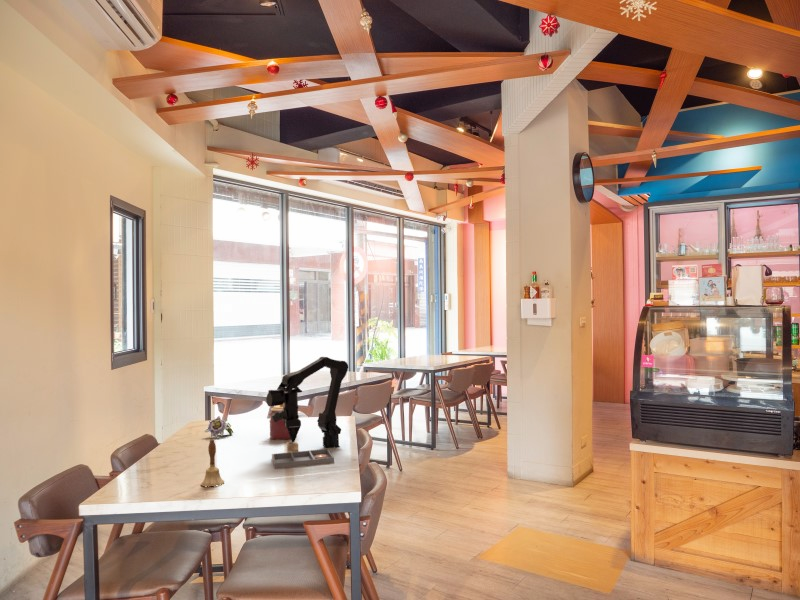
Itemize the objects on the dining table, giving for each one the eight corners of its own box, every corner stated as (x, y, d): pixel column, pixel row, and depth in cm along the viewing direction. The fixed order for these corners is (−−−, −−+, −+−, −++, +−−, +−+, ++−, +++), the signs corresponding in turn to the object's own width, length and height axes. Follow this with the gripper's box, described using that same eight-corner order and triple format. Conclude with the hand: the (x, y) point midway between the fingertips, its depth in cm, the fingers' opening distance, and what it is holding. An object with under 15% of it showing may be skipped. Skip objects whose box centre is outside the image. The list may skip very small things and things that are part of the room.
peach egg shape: (326, 456, 243) (326, 453, 243) (327, 459, 238) (327, 456, 238) (314, 457, 242) (314, 454, 242) (315, 460, 237) (315, 457, 237)
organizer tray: (327, 454, 249) (327, 448, 249) (334, 463, 234) (333, 457, 234) (272, 460, 243) (271, 454, 243) (274, 469, 227) (274, 463, 227)
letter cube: (297, 451, 254) (297, 441, 254) (298, 454, 250) (298, 443, 250) (286, 452, 253) (286, 442, 253) (287, 455, 249) (287, 444, 249)
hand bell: (229, 481, 214) (228, 437, 214) (215, 488, 206) (213, 443, 206) (210, 480, 216) (209, 437, 217) (195, 486, 208) (194, 442, 209)
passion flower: (216, 448, 292) (201, 430, 289) (219, 440, 302) (204, 422, 299) (235, 435, 292) (220, 417, 289) (237, 427, 303) (222, 409, 300)
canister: (300, 434, 293) (299, 399, 293) (291, 440, 280) (290, 403, 281) (275, 434, 295) (274, 399, 296) (265, 440, 283) (264, 403, 283)
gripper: (270, 401, 259) (271, 437, 258) (273, 408, 241) (274, 446, 240) (296, 400, 262) (296, 435, 261) (300, 406, 244) (301, 443, 243)
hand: (292, 439), depth 252 cm, fingers open, 9 cm apart
